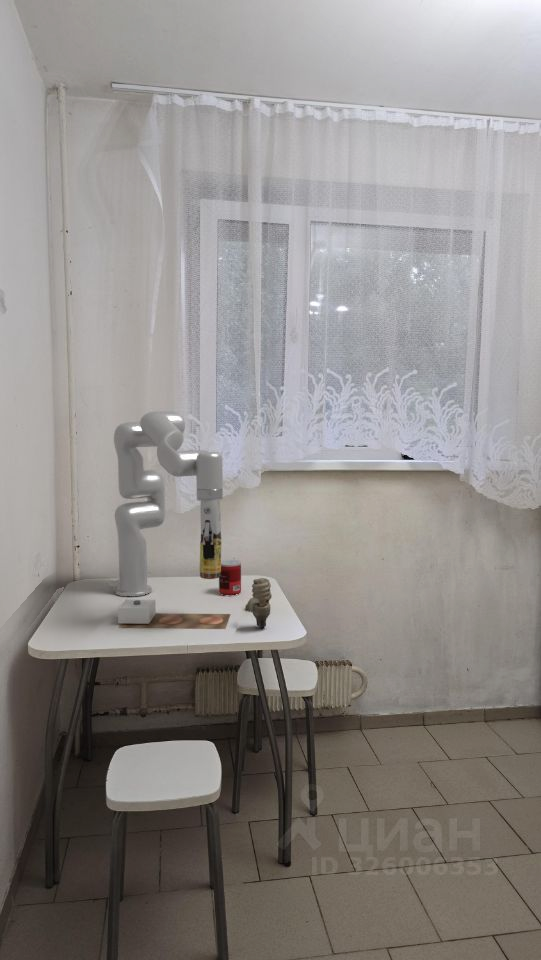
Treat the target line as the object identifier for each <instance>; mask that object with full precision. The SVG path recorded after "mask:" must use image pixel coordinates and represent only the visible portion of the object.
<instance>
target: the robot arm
mask: <svg viewBox="0 0 541 960" xmlns="http://www.w3.org/2000/svg"><path fill="white" fill-rule="evenodd" d="M185 429H186V423H185V419H184V418H183V416H182V415H181V414H180V413H178V412H177V411H150V412H147V413H145V414H143V416H142V417H140V421H129V422H124V423H121V424H119V425H117V426H116V427H115V429H114V433H113V444H114V448H115V452H116V455H117V471H118V472H117V473H118V491H119V494H120V495H119V496H120V497H122V498H123V499H129V500H131V499H132V500H134V499H135V500H136V499H144V498H145V499H147V500H146V501H144V500H143V501H134V502H125V503H123V504H120V505H118V506H117V508H115V510H114V511H115V512H114V521H115V525H116V531H117V540H118V543H117V544H118V572H119V573H118V574H119V575H118V576H119V579H117V580H113V579H112V580H110V579H108V580H107V587H110V588H111V587H112V588H114V587H115V588H116V589H115V590H114V592H115V595H117V596H120V597H127V596H130V597H131V596H132V597H139V596H140V595H141V596H145V594H146V595H148V593H149V594H150V593H152V590H153V588H152V586H150V585H149V584H148V561H147V560H148V557H147V556H148V553H147V541H146V538H145V536H144V535H143V534H142V533H141V531H140V530H144V529H150V528H151V529H152V528H158V527H160V526H162V524H163V523H164V521H165V516H166V509H165V508H166V505H165V503H166V500H165V496H166V495H165V493H166V492H165V490H166V489H165V481H164V477H163V476H162V474H161V473H160V472H159V471H158V470H152V469H148V470H145V469H144V457H143V455H142V454H141V452H140V450H139V449H138V448H152V447H153V448H155V447H156V448H157V449H156V456H157V460H158V463H159V465H160V466H161V467H162V469H164V470H165V471H166V472H167V473H168V474H170V475H171V476H173V477H178V478H179V477H180V478H181V477H191V476H196V500H197V501H199V502H200V535H201V534H202V535H204V539H203V558H204V559H213V558H214V545H213V538H214V534H216V535H218V534H219V532H220V531H221V530H222V516H221V501H223V500H224V499H223V497H224V496H223V495H224V491H223V490H224V489H223V486H224V485H223V483H224V482H223V479H224V478H223V455H222V454H221V453H220V452H219V451H218V452H216V451H208V450H204V449H203V450H201V449H198V450H197V449H196V450H193V449H192V450H189V449H188V450H180V448H181V447H182V445H183V443H184V442H183V441H184V432H185ZM207 510H208V511H207ZM203 530H204V531H203ZM209 532H212V534H209ZM221 532H222V531H221Z"/></svg>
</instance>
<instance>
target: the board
mask: <svg viewBox="0 0 541 960" xmlns="http://www.w3.org/2000/svg"><path fill="white" fill-rule="evenodd" d="M230 617H231V613H170V612H169V613H167V612H166V613H165V612H164V613H161V612H160V613H158V612H156V614H155V616H154V617H153V619H152V620H151V622H150V623H149V624H133V623H120V625H119V626H118V627H117V628H118V629H171V630H172V629H173V630H174V629H176V630H177V629H179V630H183V629H184V630H185V629H187V630H191V629H192V630H193V629H194V630H199V629H200V630H226V629H227V626H228V624H229V620H230Z"/></svg>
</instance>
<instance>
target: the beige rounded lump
mask: <svg viewBox="0 0 541 960" xmlns="http://www.w3.org/2000/svg"><path fill="white" fill-rule="evenodd" d="M272 598H273V597H272V591H270V597H269V599H267V600H266V603H268V604H270V600H271V599H272ZM254 603H259V600H258V599H257V598H254V597H253V596H252V597H251V598H249V600H248V601H247V604H246V605H245V607H244V608H245V609H246V611H247V610H248V612H250V611H251V613H253V610H252V607H253V604H254ZM245 609H244V610H245Z"/></svg>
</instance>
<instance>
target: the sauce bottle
mask: <svg viewBox="0 0 541 960" xmlns="http://www.w3.org/2000/svg"><path fill="white" fill-rule="evenodd" d="M207 511H208V510H207ZM203 531H204V530H203ZM209 534H212V532H209ZM203 539H204V535H202V534H201V533H200V543H199V577H200V578H201V579H204V580H215V579H219V577H220V572H221V561H222V531H220V532H219V534H218V535H216V534H214V538H213V545H214V558H213V559H204V558H203Z"/></svg>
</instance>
